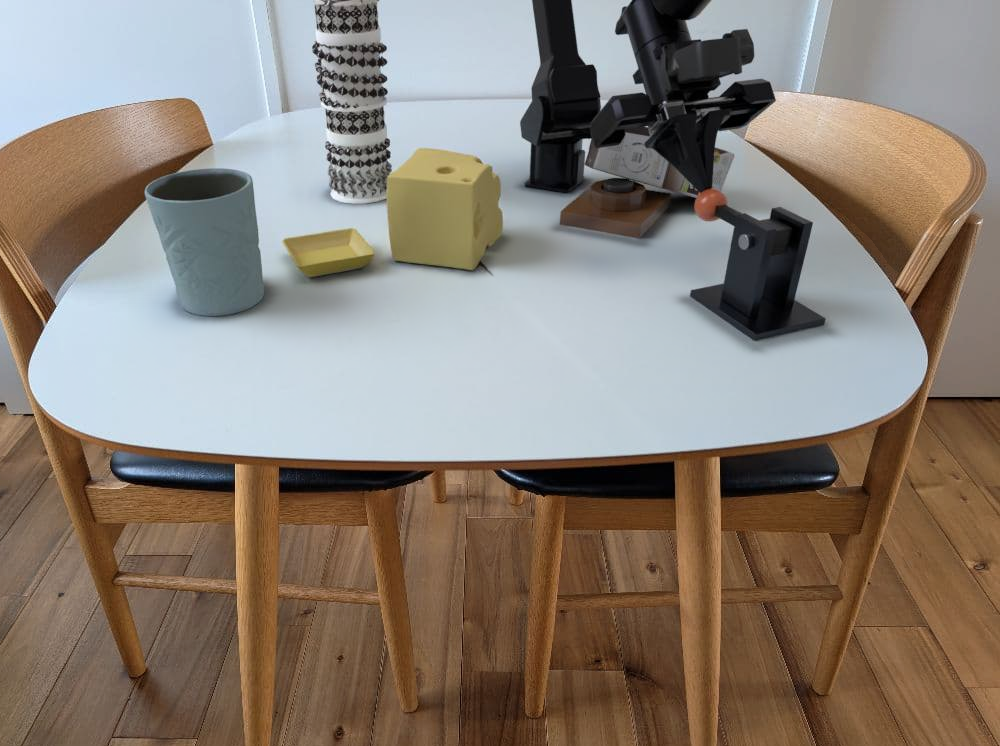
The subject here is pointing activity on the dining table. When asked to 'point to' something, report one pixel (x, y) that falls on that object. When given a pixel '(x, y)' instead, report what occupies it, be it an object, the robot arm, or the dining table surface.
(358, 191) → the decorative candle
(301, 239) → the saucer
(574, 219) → the button block
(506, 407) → the dining table surface
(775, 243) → the lever
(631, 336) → the dining table surface
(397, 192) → the cheese
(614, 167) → the coffee box
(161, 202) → the grey green cup
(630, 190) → the button
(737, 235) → the bracket
